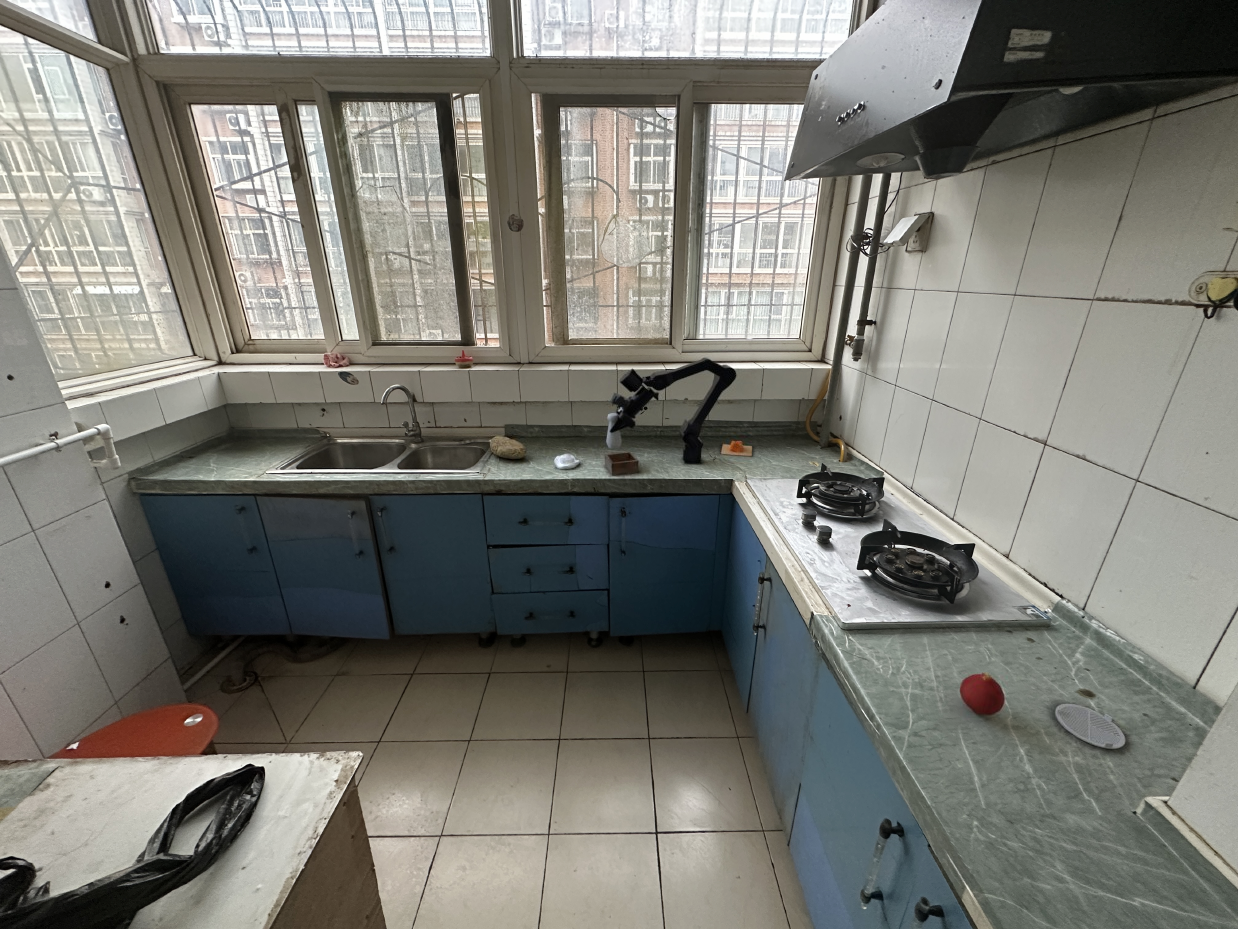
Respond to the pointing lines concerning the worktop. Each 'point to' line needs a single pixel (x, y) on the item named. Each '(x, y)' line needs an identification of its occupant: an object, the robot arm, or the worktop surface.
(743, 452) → the board with orange mound
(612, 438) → the salt shaker
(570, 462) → the white lumpy mound
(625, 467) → the box
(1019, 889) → the worktop surface
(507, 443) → the tan oval lump
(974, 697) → the onion
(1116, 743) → the drain cover
